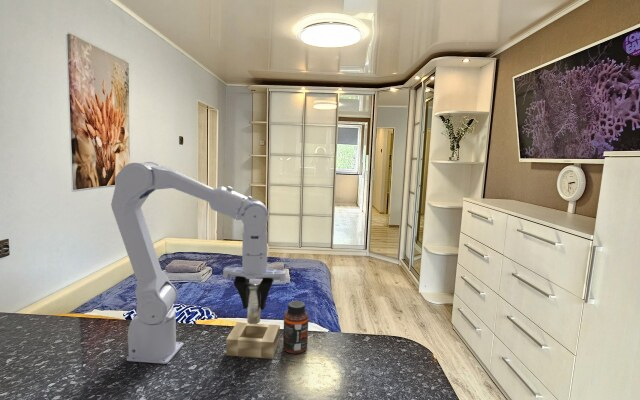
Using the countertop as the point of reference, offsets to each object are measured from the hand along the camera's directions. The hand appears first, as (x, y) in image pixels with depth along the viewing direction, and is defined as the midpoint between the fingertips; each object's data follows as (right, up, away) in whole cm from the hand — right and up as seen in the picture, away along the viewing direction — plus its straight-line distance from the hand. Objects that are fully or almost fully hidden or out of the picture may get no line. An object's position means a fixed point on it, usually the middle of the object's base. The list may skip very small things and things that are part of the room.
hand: (254, 307), depth 80 cm
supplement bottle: (+10, -11, +2) cm, 14 cm away
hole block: (0, -10, +1) cm, 10 cm away
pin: (0, -3, 0) cm, 3 cm away
